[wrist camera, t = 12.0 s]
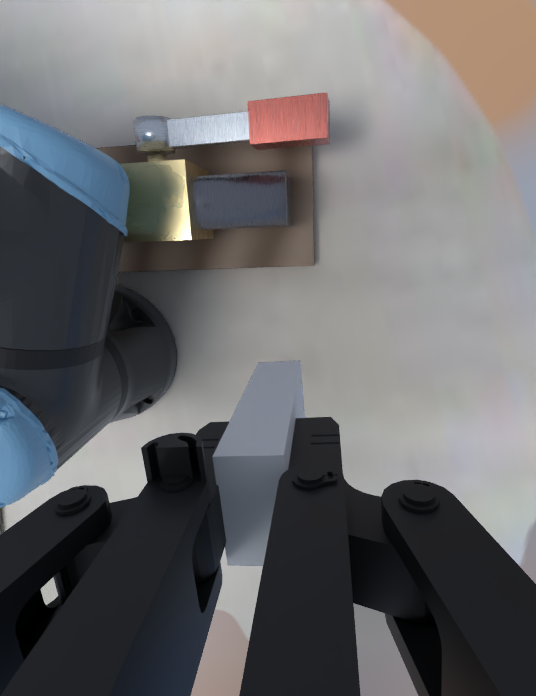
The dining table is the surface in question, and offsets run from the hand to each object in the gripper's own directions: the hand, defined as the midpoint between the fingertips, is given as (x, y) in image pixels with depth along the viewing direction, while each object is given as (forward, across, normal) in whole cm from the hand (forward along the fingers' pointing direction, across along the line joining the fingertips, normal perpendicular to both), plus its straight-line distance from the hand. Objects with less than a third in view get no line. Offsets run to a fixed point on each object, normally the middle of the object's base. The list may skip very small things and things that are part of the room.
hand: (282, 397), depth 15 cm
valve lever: (+24, +13, -15) cm, 31 cm away
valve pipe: (+29, +10, -9) cm, 32 cm away
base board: (+30, +10, -9) cm, 33 cm away
